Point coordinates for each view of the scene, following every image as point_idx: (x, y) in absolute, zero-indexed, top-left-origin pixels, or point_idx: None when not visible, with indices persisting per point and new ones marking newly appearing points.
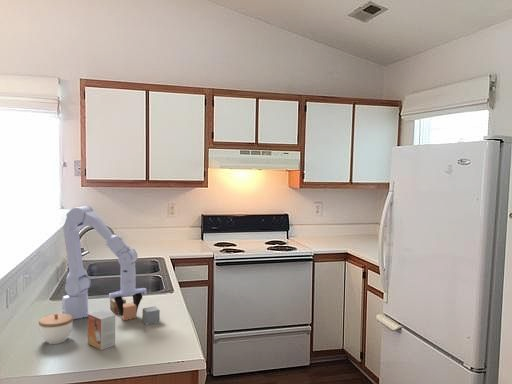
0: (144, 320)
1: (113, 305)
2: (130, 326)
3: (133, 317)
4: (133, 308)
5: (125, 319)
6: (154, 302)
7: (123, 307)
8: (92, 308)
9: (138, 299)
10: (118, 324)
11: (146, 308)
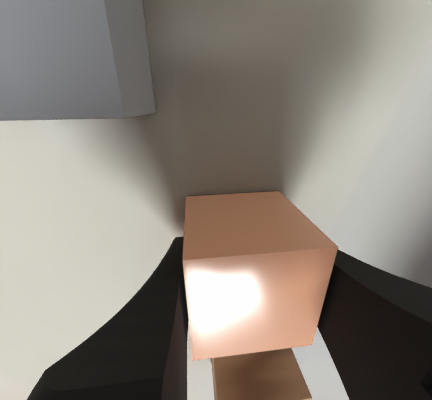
0: (145, 48)
1: (297, 369)
2: (293, 21)
3: (209, 199)
4: (218, 240)
5: (269, 193)
6: (22, 391)
7: (334, 260)
8: (319, 389)
9: (135, 344)
10: (341, 134)
11: (51, 81)
